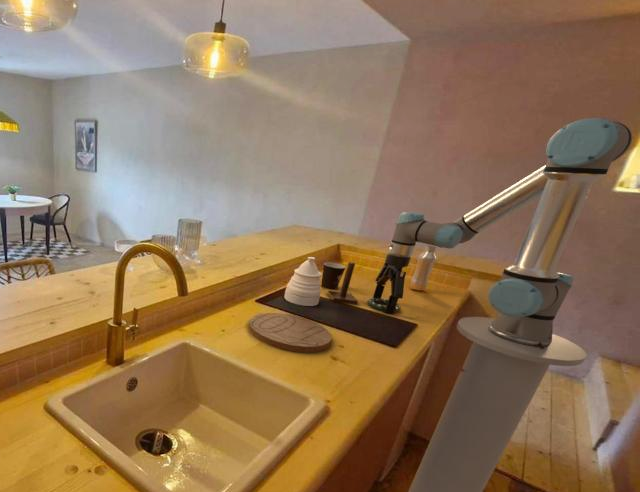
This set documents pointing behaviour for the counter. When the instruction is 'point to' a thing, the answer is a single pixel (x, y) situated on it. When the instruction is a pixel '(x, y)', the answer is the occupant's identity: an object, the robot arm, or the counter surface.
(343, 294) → the post
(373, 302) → the ring
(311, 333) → the trivet
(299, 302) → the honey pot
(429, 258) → the plastic bottle
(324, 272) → the coffee mug
